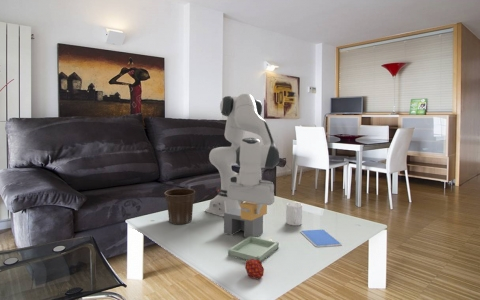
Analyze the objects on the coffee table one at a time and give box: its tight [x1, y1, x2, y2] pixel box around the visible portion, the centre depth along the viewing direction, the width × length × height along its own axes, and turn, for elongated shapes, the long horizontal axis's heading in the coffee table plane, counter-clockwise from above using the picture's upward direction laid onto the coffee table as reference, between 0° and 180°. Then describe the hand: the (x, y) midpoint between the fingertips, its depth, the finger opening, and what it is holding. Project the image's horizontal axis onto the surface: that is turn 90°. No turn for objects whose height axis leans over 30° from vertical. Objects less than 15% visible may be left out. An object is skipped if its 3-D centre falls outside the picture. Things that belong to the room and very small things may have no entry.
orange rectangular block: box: [241, 201, 268, 221], centre depth 132 cm, size 5×13×6 cm, turn 145°
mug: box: [285, 201, 303, 227], centre depth 169 cm, size 12×8×10 cm
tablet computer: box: [300, 229, 343, 248], centre depth 150 cm, size 19×13×1 cm, turn 11°
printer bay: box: [223, 208, 264, 239], centre depth 156 cm, size 16×10×10 cm, turn 59°
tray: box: [227, 236, 280, 263], centre depth 134 cm, size 14×18×2 cm
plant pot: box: [164, 188, 196, 225], centre depth 173 cm, size 16×16×16 cm
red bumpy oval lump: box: [244, 259, 265, 279], centre depth 114 cm, size 6×7×8 cm
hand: (250, 212), depth 130 cm, fingers closed on orange rectangular block, 5 cm apart
